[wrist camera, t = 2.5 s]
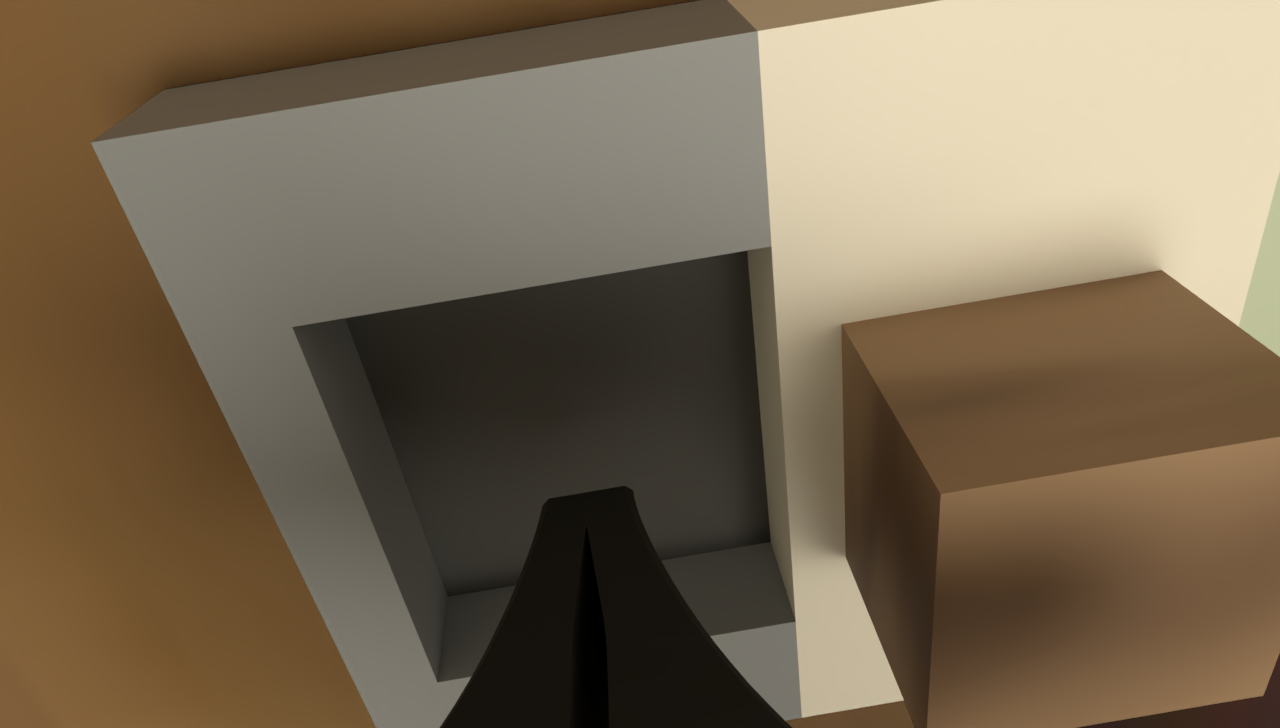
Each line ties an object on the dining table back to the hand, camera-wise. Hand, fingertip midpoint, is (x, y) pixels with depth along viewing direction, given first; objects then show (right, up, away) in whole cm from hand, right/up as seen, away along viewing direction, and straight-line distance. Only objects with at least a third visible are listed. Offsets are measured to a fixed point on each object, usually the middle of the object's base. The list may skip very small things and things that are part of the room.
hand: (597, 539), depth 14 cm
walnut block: (+7, +2, +1) cm, 7 cm away
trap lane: (+10, +4, +3) cm, 11 cm away
